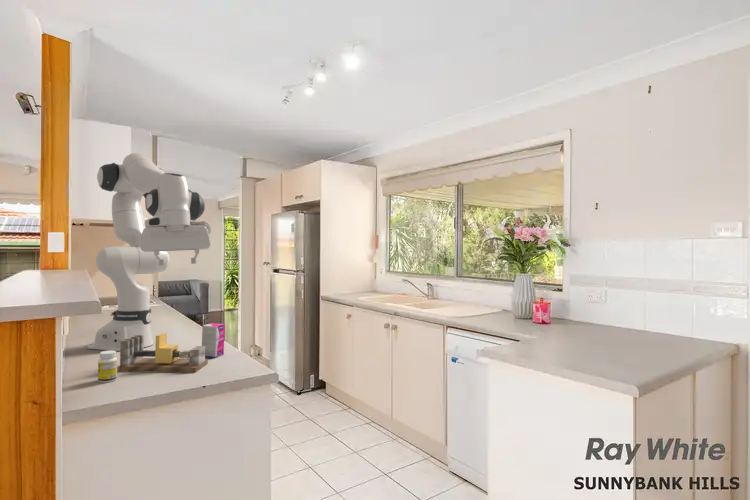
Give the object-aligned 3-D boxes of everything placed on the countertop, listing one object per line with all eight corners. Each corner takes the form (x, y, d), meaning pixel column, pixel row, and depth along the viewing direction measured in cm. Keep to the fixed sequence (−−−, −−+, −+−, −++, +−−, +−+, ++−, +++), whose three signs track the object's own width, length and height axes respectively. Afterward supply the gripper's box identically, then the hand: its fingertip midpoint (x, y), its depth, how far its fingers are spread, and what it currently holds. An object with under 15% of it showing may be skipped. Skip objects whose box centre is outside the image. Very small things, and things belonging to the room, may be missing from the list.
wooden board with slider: (119, 371, 133) (119, 341, 133) (136, 362, 143) (137, 334, 143) (195, 372, 133) (195, 342, 133) (207, 363, 143) (208, 335, 143)
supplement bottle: (100, 378, 125) (100, 350, 125) (118, 377, 127) (118, 349, 127) (96, 383, 121) (96, 354, 121) (115, 382, 123) (115, 353, 122)
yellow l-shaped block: (155, 363, 136) (155, 335, 135) (162, 359, 140) (163, 332, 140) (170, 363, 136) (171, 336, 136) (177, 359, 140) (178, 332, 140)
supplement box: (215, 358, 150) (216, 326, 150) (200, 357, 151) (201, 325, 151) (224, 354, 155) (225, 323, 155) (210, 353, 157) (210, 322, 156)
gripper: (209, 223, 143) (212, 263, 142) (141, 224, 135) (143, 267, 134) (210, 219, 137) (212, 261, 136) (138, 220, 129) (140, 265, 128)
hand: (177, 264), depth 135 cm, fingers open, 8 cm apart
